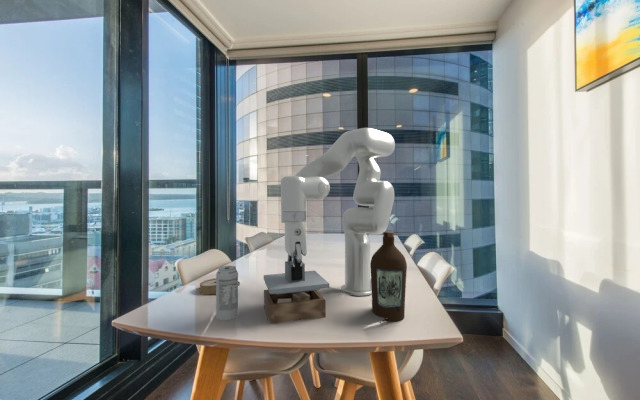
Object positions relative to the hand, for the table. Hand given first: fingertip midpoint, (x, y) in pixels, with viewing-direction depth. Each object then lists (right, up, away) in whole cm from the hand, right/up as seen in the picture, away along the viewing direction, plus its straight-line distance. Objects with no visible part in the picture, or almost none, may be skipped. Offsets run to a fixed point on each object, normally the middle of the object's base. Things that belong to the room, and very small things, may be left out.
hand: (294, 276), depth 89 cm
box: (0, -11, 0) cm, 11 cm away
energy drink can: (-19, -12, -4) cm, 23 cm away
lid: (0, -3, 0) cm, 3 cm away
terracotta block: (-3, -10, -3) cm, 11 cm away
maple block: (+2, -10, +2) cm, 11 cm away
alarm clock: (-30, -12, +23) cm, 40 cm away
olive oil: (+28, -12, -1) cm, 30 cm away
